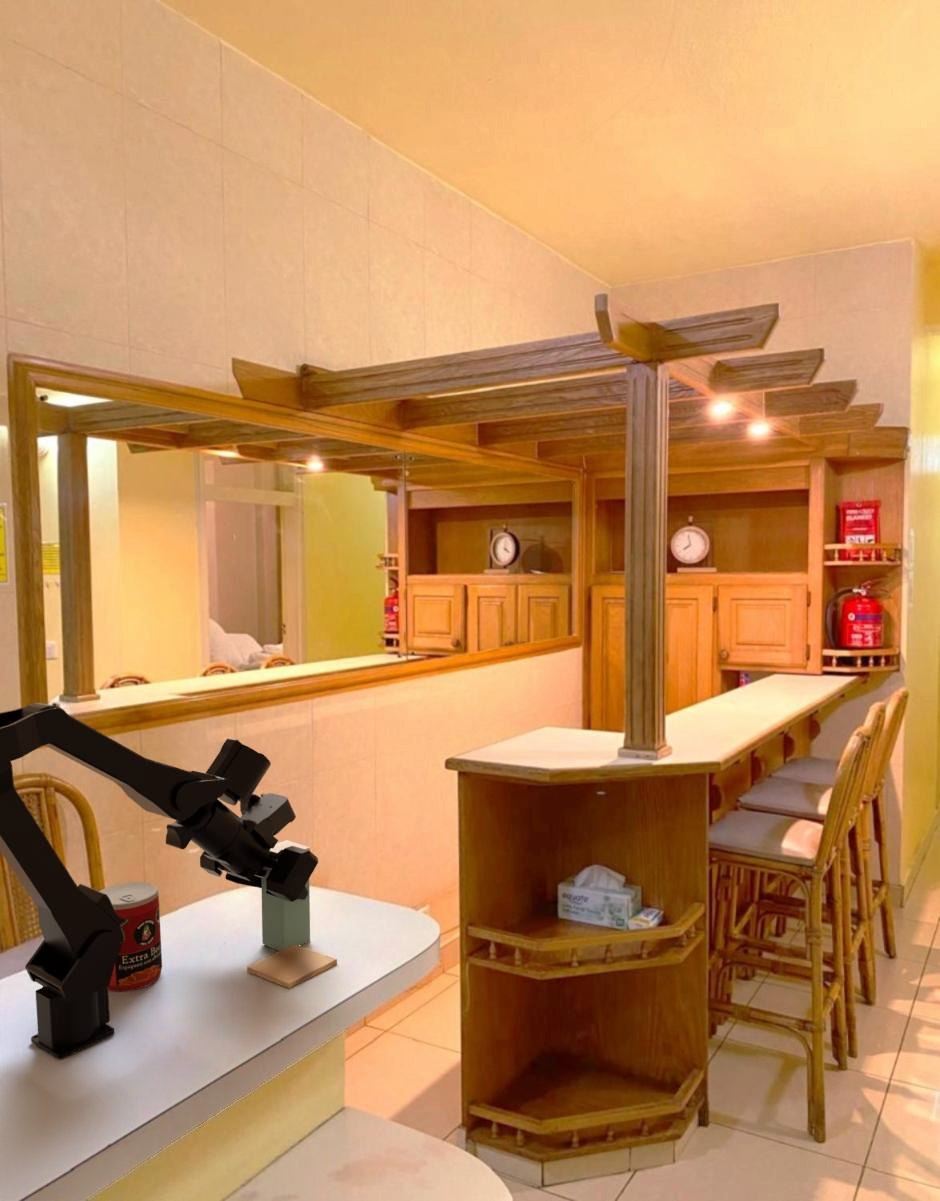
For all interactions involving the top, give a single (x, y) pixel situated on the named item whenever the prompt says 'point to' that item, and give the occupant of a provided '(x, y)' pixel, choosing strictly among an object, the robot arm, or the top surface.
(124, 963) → the canned food
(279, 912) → the tea tin
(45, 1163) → the top surface
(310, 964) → the coaster
